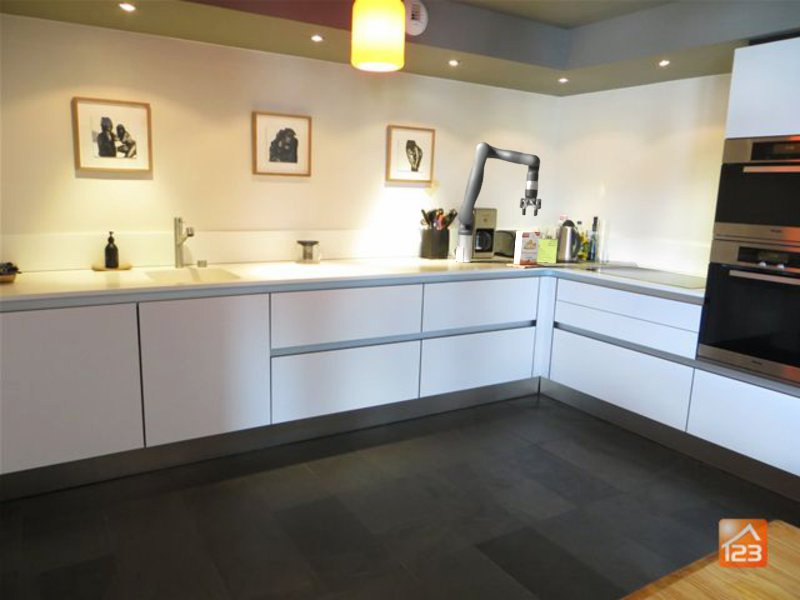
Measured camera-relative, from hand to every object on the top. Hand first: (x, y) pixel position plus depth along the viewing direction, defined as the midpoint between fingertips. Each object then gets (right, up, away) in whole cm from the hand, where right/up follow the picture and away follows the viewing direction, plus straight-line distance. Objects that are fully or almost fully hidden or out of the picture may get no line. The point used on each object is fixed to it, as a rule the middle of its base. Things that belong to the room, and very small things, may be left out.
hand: (529, 215), depth 356 cm
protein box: (+19, -26, +37) cm, 49 cm away
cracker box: (-1, -30, +5) cm, 31 cm away
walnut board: (-1, -31, +6) cm, 32 cm away
